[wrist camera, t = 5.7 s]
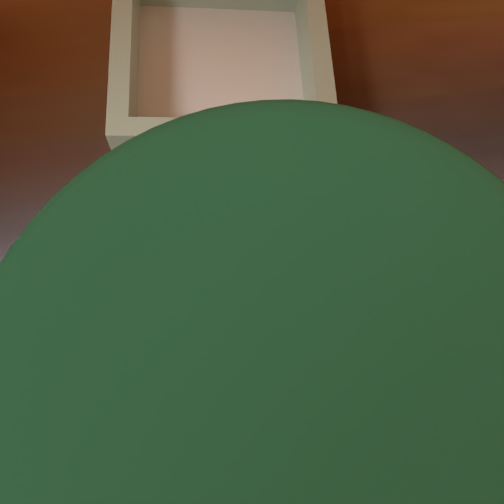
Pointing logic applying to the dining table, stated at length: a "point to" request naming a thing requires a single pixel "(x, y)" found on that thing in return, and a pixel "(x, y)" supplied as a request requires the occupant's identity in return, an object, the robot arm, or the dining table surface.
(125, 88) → the cradle
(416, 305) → the milk bottle
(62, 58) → the dining table surface
